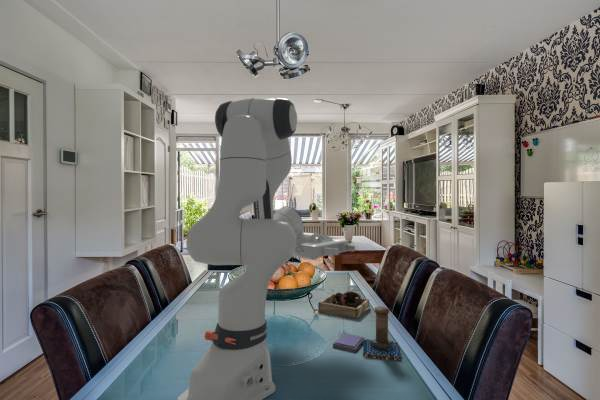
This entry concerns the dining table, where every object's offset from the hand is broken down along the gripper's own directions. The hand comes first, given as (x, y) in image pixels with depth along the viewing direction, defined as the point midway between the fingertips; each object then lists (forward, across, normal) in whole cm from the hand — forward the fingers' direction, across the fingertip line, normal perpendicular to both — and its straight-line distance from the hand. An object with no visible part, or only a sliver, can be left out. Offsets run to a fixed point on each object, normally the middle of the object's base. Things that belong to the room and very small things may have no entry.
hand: (346, 250), depth 106 cm
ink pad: (+2, -2, +28) cm, 28 cm away
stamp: (+12, 0, +27) cm, 29 cm away
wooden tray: (-16, +24, +28) cm, 40 cm away
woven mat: (+12, 0, +29) cm, 31 cm away
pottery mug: (-15, +26, +28) cm, 41 cm away
